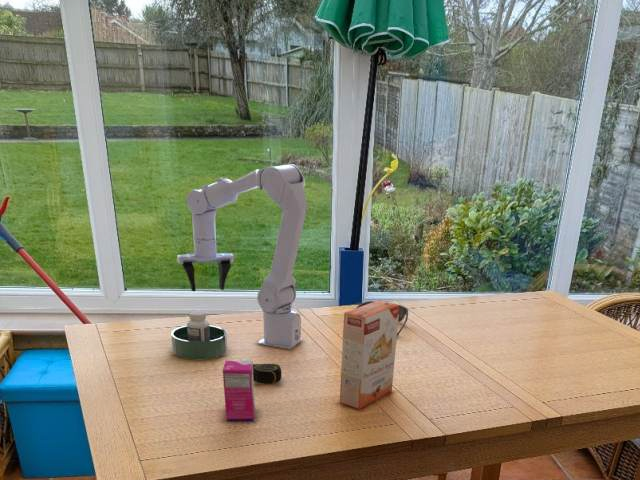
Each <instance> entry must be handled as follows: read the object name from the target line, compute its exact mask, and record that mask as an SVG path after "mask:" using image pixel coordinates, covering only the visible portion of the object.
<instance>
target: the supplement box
mask: <svg viewBox="0 0 640 480" xmlns="http://www.w3.org/2000/svg"><path fill="white" fill-rule="evenodd" d="M253 362H254V361H253V360H248V359H246V360H240V359H239V360H237V359H235V360H234V359H233V360H231V359H227V360H225V361H224V364H223V368H222V380H223V393H224V406H225V407H224V408H225V420H226V421H227V422H251V423H253V422H254V421H255V416H256V400H255V399H256V398H255V383H254V382H255V381H254V379H253V364H254V363H253Z"/></svg>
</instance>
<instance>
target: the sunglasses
mask: <svg viewBox="0 0 640 480" xmlns="http://www.w3.org/2000/svg"><path fill="white" fill-rule="evenodd" d="M372 302H375V301H374V300H373V301H371V300H370V301H364V302H361V303H360V304H358V306H355V308H354V309H356V308H359V307H361V306H364V305H367V304H370V303H372ZM398 305H399V306H400V307H399V317H398V323H399V322H403V320H404V322H403V324H402V326H401V327H400V329H399V330H398V331H397V338H398V337H399V335H400V334H401V332H402V331H403V329H404V327H405V325H406V323H407V322H408V319H409V309H408V308H407V307H405V306H403V305H401V304H398Z"/></svg>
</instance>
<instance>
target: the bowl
mask: <svg viewBox="0 0 640 480" xmlns="http://www.w3.org/2000/svg"><path fill="white" fill-rule="evenodd" d="M209 329H210V341H198V342H197V341H188V330H187V325H184V326H180V327H177V328H174V329H173V330H172V331H171V332H170V335H171V336H170V337H171V347H172V348H171V349H172V354H173V355H175V356H177V357H179V358H182V359H187V360H194V361H195V360H197V361H200V360H201V361H202V360H211V359H217V358H219V357H222V356H224V355H225V354H227V352H228V335H227V334H228V333H227V330H225V329H223V328H222V327H219V326H217V325H216V326H215V325H211V324H209Z"/></svg>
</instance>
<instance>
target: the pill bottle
mask: <svg viewBox="0 0 640 480" xmlns="http://www.w3.org/2000/svg"><path fill="white" fill-rule="evenodd" d="M206 313H207V312H206V311H204V310H201V309H200V310H198V309H196V310H191V311H189V312H188V317H189V319H190V320H188V321H187V323H186V326H187V330H188V341H197V342H198V341H210V329H209V325H210V323H209V321H208V320H207V314H206Z"/></svg>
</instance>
